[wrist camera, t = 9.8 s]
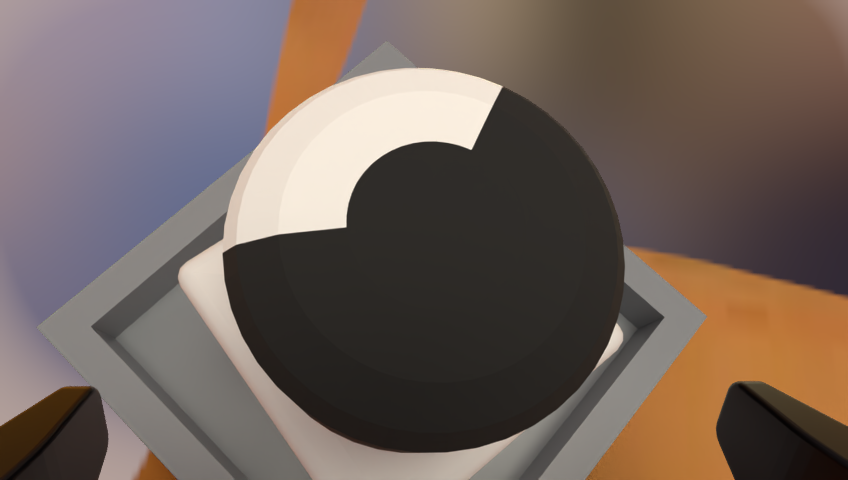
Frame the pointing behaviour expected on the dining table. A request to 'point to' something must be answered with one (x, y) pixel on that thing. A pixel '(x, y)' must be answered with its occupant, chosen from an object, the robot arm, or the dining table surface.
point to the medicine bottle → (413, 274)
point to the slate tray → (240, 409)
